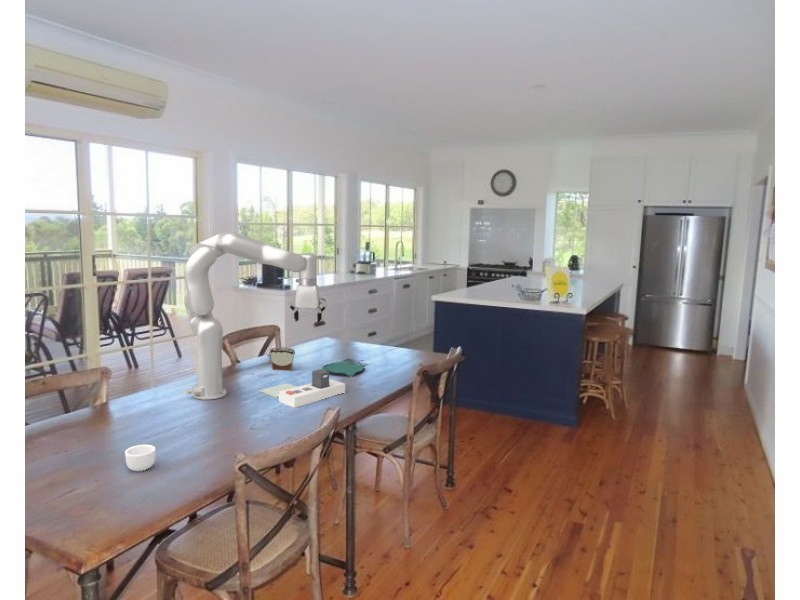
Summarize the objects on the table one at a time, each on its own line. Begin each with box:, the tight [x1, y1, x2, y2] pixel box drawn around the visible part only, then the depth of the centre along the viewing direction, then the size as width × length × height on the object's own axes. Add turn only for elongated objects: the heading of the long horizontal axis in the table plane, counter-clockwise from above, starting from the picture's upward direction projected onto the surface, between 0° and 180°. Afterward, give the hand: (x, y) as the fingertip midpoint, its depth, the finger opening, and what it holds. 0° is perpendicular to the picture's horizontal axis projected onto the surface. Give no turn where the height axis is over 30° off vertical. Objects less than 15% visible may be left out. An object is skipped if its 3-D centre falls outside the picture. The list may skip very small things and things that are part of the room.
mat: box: [259, 382, 297, 399], centre depth 227 cm, size 14×12×1 cm
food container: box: [269, 346, 296, 372], centre depth 259 cm, size 12×6×10 cm, turn 84°
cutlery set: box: [320, 357, 366, 377], centre depth 264 cm, size 20×30×2 cm, turn 158°
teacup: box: [124, 444, 156, 472], centre depth 155 cm, size 10×8×5 cm
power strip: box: [278, 378, 346, 409], centre depth 220 cm, size 26×10×5 cm, turn 139°
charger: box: [311, 368, 330, 389], centre depth 222 cm, size 4×6×8 cm
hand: (307, 321), depth 238 cm, fingers open, 9 cm apart
